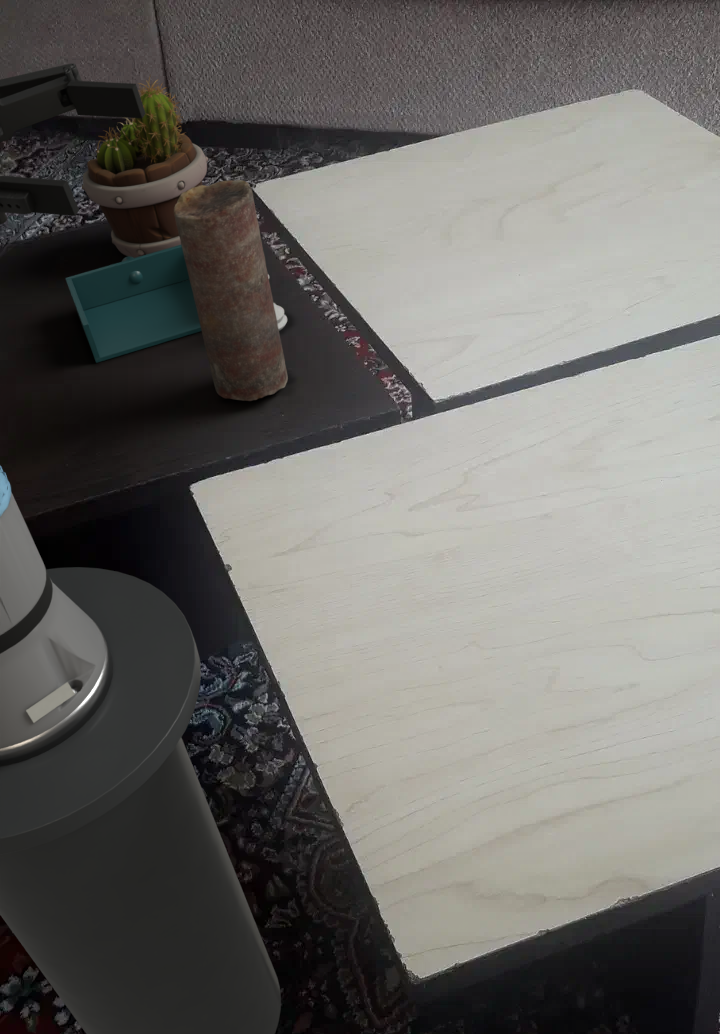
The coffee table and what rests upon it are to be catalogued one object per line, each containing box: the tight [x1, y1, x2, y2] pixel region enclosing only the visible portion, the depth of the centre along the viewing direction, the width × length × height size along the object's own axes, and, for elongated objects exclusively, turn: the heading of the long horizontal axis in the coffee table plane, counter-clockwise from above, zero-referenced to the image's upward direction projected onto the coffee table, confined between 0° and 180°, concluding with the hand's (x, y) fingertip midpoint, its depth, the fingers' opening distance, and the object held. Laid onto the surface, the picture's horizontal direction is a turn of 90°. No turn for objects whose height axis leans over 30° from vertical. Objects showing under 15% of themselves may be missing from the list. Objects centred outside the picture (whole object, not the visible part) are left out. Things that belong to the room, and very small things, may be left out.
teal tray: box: [65, 245, 202, 364], centre depth 120 cm, size 17×15×4 cm
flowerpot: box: [81, 74, 209, 258], centre depth 126 cm, size 14×15×20 cm
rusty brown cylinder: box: [174, 179, 289, 402], centre depth 99 cm, size 8×7×20 cm
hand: (106, 148), depth 89 cm, fingers open, 13 cm apart
